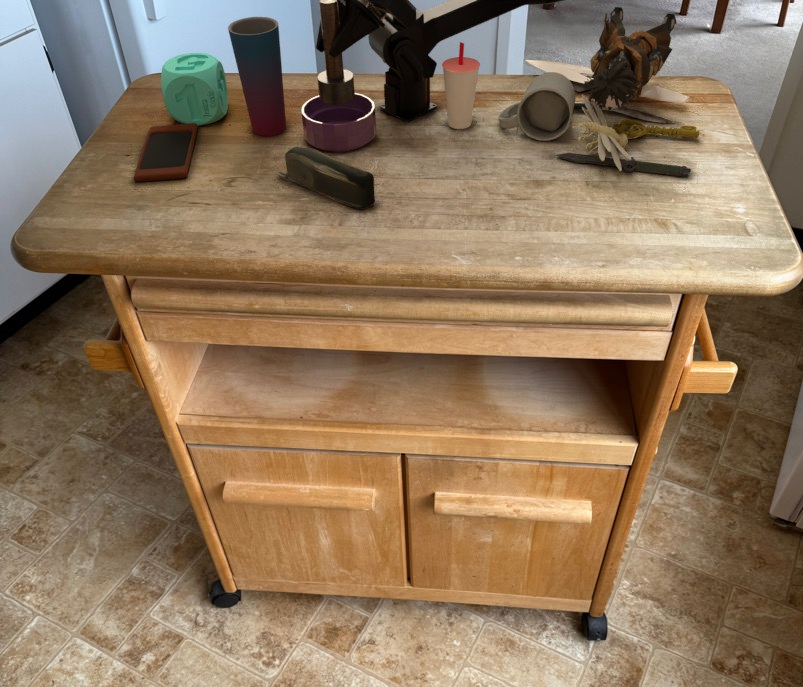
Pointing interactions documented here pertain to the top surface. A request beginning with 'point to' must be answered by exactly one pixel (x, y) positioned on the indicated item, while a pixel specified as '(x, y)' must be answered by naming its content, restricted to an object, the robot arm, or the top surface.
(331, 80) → the brown handled tamper
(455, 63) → the cup
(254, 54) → the cup
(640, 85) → the figurine
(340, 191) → the dark green rounded bar
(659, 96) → the knife
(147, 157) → the smartphone
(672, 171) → the knife
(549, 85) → the ceramic mug
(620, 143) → the toy
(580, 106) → the knife
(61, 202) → the top surface
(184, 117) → the decorative dice
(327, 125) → the bowl
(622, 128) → the key
